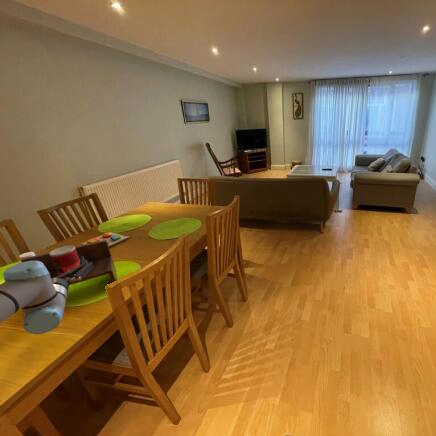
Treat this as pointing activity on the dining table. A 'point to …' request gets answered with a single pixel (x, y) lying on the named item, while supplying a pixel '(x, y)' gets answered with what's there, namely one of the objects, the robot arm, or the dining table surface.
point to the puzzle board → (107, 239)
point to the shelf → (91, 252)
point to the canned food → (65, 259)
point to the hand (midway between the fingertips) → (60, 264)
